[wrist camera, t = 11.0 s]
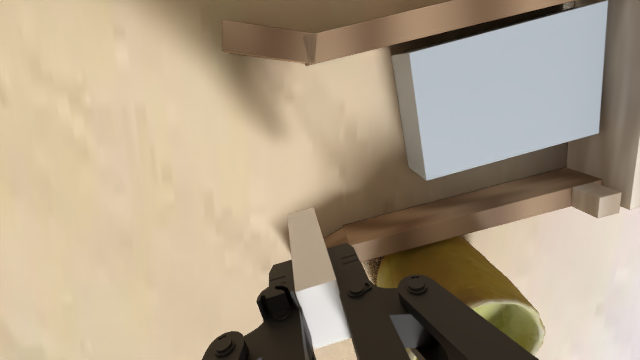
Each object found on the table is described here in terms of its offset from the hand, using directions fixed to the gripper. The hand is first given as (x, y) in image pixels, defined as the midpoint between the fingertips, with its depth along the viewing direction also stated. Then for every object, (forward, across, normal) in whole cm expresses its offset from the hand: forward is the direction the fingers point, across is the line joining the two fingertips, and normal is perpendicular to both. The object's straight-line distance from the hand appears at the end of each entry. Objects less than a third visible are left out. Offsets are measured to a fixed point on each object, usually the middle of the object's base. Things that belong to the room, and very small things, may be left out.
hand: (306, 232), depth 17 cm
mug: (+6, +8, -12) cm, 15 cm away
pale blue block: (+6, +14, +4) cm, 16 cm away
